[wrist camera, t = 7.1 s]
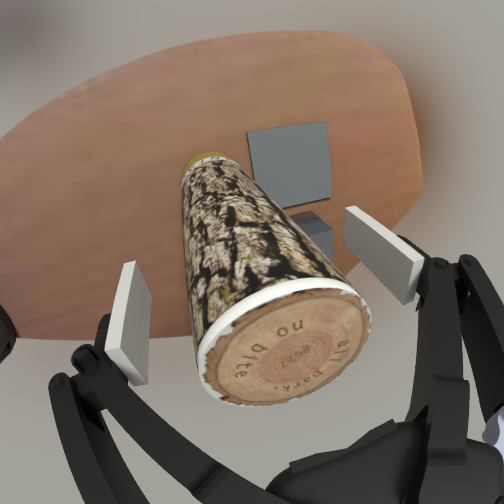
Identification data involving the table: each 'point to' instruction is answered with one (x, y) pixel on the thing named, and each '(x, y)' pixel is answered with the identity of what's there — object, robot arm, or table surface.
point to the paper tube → (261, 292)
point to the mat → (292, 162)
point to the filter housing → (316, 231)
